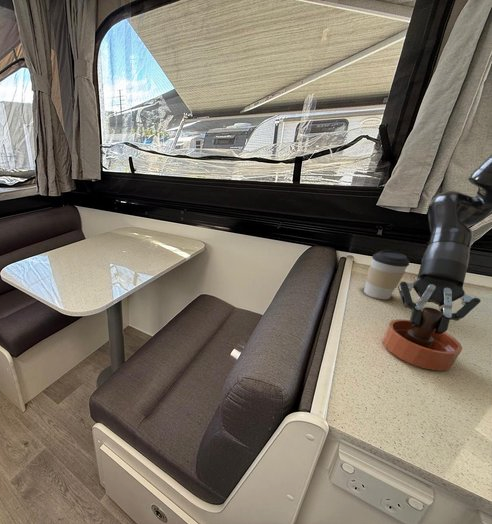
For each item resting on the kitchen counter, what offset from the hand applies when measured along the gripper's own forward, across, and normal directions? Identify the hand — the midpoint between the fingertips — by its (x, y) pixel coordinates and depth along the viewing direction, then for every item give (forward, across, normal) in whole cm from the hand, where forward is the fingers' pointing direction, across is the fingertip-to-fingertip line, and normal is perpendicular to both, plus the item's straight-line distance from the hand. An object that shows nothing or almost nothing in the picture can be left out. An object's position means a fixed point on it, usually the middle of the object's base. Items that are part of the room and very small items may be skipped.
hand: (426, 329), depth 62 cm
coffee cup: (-16, -8, +28) cm, 33 cm away
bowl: (+5, 0, +7) cm, 8 cm away
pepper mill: (+3, 0, +6) cm, 6 cm away
